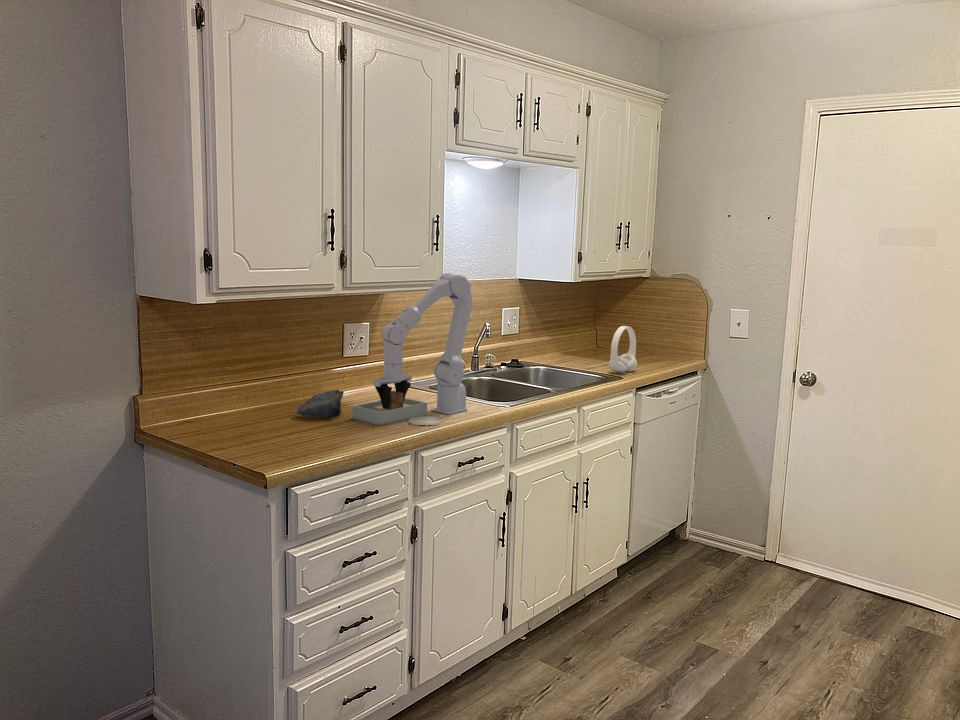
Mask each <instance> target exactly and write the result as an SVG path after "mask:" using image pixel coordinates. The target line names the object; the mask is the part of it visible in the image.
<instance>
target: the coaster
mask: <svg viewBox="0 0 960 720" xmlns="http://www.w3.org/2000/svg"><path fill="white" fill-rule="evenodd" d="M441 422H443V421H442V419H441V418H439V417H436V416H428V415H425V416H418V417H412V418H410V419H408V423H409V424H410V423H411V424H410V425H413V424H414V425H413V426H417V425H426V426H425V427H429V426H428V425H435V426H437V425H436V424H439V425H441V424H442V423H441ZM440 423H441V424H440Z"/></svg>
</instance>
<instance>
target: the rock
mask: <svg viewBox="0 0 960 720" xmlns="http://www.w3.org/2000/svg"><path fill="white" fill-rule="evenodd" d="M344 392H345V391H343V390H339V389H335V390H333V389H332V390H327V391H324V392H320V393H317V394H313V396H312V397H311V398H310V399H307V400H306V401H305V402H304V403H302V404H300V405H299V406H298V407H297V408H296V410H295V414H296V415H301V416H302V417H303V416H306V417H309V418H312V419H313V418H314V419H316V418H320V419H328V418H332V417H334V416H335V415H340V414H341V413H342V406H341V405H342V404H341V403H342V402H341V401H342V399H343V398H344V394H345V393H344Z"/></svg>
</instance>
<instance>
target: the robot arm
mask: <svg viewBox="0 0 960 720" xmlns="http://www.w3.org/2000/svg"><path fill="white" fill-rule="evenodd" d="M471 287H472V284H471V282H470V281H469V279H468V278H467V277H466V276H465V275H461V274H452V273H443V274H442V275H440V277H439V278H438V279H436V280H435V281H434V283H433V284H432V286H431V287H430V288H429V289H428V290H427V291H426V293H424V295H422V297H421V298H420V299H419V300H418V301H417V302H416V303H415V305H413V306H407V307H403V308H402V312H401V313H400V314H399V315H398V316H397V317H396V318H395V319H394V318H393V319H392V320H391V323H388V324H386V325H384V327H383V330H382V331H381V332H380V336H381V338H382V340H383V341H384V345H383V375H382V376H381V377H378V378H376V379H375V378H374V379H373V387H374V388H375V390H376V391H377V393H378V396H379V399H380V400H381V403H382V407H383V408H389V399H390V393H391V391H393V390H392V389H393V387H392V386H389V385H391V384H393V385H394V389H395V391H397V392H402V393H403V403H404V399H405V398H406V395H407V393H408V390H409V389H410V387H411V384H412V383H411V382H412V379H413V377H412V376H413V375H412V374H408V373H406V374H403V369H404V367H403V366H404V365H403V361H404V359H403V358H404V357H403V356H404V342H405V341H406V339H407V334H408V333H409V332H411V330H412V329H414V327H416V326H417V325H418V324H419V323H420V322H421V320H422V319H423V313H425V312H426V311H427V310H428V309H429V308H430V307H431V306H432V305H434V304H435V303H436V302H437V301H438V300H439V299H441V298H445V297H449V299H450V300H451V301H452V304H454V307H453V313H452V317H451V320H450V324H449V325H450V326H449V330H448V334H447V339H446V344H445V348H444V352H443V353H442V354H441V355H440V356H439V358H438V362H437V364H436V365H435V367H434V370H433V374H434V377H435V378H436V379H437V382H436V383H437V384H436V385H437V386H436V389H437V390H436V407H435V408H434V407H433V408H431V409H430V411H432V412H437V413H441V414H445V415H453V414H458V413H460V412H461V413H462V412H465V411H468V408H466V407H467V390H466V389H467V388H466V386H465V385H464V384H463V383H462V381H463V380H464V375H465V374H464V360H463V358H462V353H463V347H464V343H465V338H466V335H467V329H468V325H469V321H470V317H471V313H472V307H473V303H474V302H473V297H472V292H471Z"/></svg>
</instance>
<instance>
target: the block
mask: <svg viewBox="0 0 960 720" xmlns="http://www.w3.org/2000/svg"><path fill="white" fill-rule="evenodd" d="M401 407H403V393H402V392H397V391H396V390H391V393H390V399H389V408H383V407H382V408H383V409H387V410H392V409H396V408H401Z"/></svg>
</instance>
